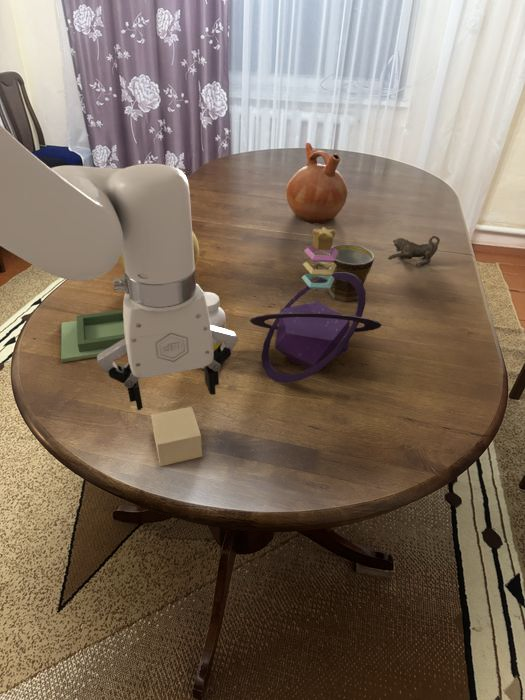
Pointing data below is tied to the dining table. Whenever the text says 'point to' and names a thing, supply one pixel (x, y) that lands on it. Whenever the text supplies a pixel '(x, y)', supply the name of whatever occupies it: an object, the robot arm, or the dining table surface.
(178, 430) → the beige cube block
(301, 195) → the jug
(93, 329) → the green rectangular tray
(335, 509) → the dining table surface
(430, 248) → the dog figurine
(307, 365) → the purple faceted ringed piece
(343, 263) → the ceramic cup
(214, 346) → the supplement bottle
